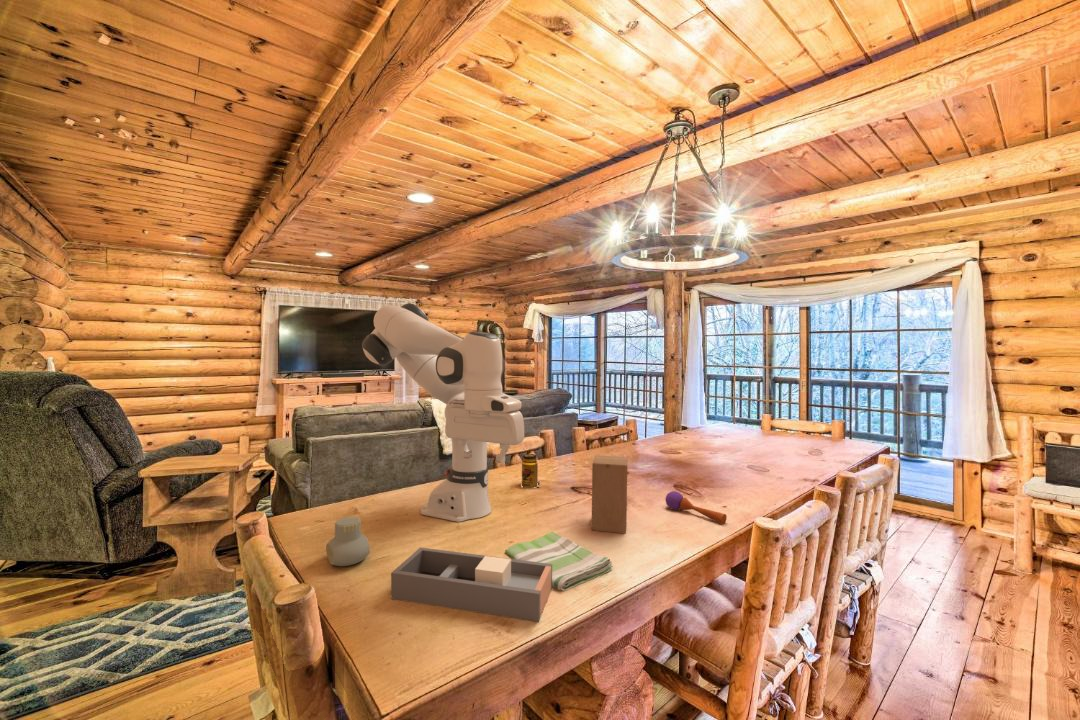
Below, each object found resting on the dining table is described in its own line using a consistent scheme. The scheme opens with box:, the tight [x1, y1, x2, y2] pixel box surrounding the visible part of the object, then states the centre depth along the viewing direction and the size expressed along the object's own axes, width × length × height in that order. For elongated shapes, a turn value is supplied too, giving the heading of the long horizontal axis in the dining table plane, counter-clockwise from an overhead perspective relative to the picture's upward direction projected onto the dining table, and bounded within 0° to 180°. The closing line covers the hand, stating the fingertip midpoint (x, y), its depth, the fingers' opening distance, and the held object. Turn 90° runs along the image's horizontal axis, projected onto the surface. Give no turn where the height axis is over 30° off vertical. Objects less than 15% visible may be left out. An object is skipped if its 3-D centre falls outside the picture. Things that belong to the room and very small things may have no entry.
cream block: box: [475, 555, 512, 586], centre depth 95 cm, size 6×6×4 cm
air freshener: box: [325, 516, 371, 567], centre depth 110 cm, size 11×8×10 cm
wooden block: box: [590, 454, 629, 534], centre depth 134 cm, size 10×10×20 cm
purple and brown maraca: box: [665, 490, 728, 525], centre depth 144 cm, size 6×6×20 cm
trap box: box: [390, 547, 553, 623], centre depth 96 cm, size 32×12×6 cm, turn 77°
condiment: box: [521, 453, 541, 489], centre depth 173 cm, size 7×8×12 cm
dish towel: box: [504, 531, 614, 592], centre depth 111 cm, size 17×23×4 cm
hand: (483, 460), depth 104 cm, fingers open, 8 cm apart
